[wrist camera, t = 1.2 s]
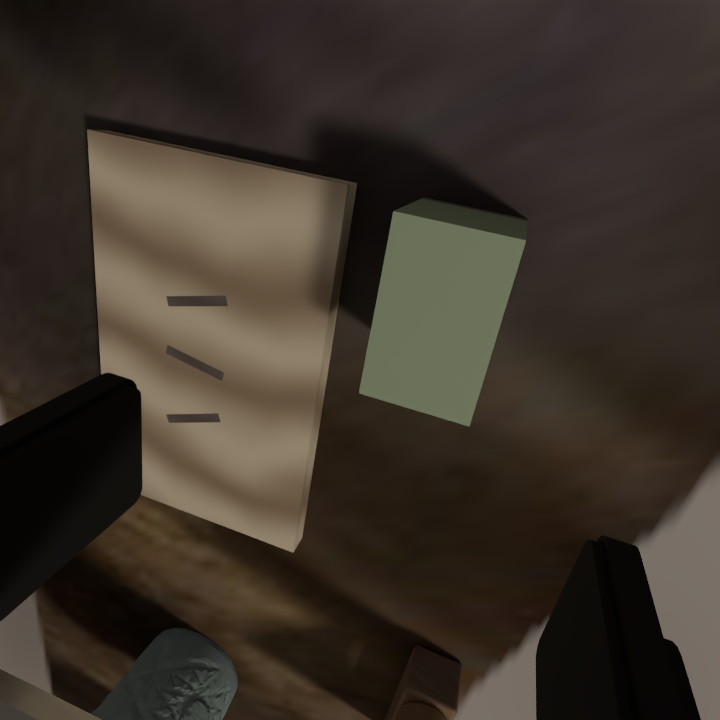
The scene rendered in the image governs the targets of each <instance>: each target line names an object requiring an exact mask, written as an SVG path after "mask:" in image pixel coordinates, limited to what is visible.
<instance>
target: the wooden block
mask: <svg viewBox="0 0 720 720" xmlns="http://www.w3.org/2000/svg"><path fill="white" fill-rule="evenodd" d="M462 671H463V669H462V665H461V664H460V663H458V662H456V661H453V660H451V659H449V658H447V657H444V656H442V655H440V654H438V653H435V652H433V651H431V650H429V649H426V648H424V647H422V646H420V645H416V646H415V647H414V648H413V651H412V653H411V656H410V658H409V660H408V663H407V665H406V668H405V670H404V672H403V675H402V677H401V680H400V682H399V684H398V687H397V689H396V692H395V694H394V696H393V699H392V701H391V704H390V706H389V708H388V711H387V713H386V715H385V718H384V720H453V719H454V717H455V715H456V713H457V709H458V702H459V694H460V686H461V679H462Z"/></svg>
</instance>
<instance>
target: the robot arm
mask: <svg viewBox="0 0 720 720" xmlns="http://www.w3.org/2000/svg"><path fill="white" fill-rule="evenodd" d="M141 492H142V409H141V392H140V391H139V390H138V389H137V385H136V384H135V382H134V381H133V380H131V379H128V378H125V377H122V376H118V375H115V374H112V373H104V374H102V375H100V376H98V377H96V378H94V379H92V380H90V381H88V382H86V383H84V384H82V385H80V386H78V387H76V388H74V389H72V390H70V391H68V392H66V393H64V394H62V395H60V396H58V397H56V398H54V399H52V400H50V401H49V402H47V403H45V404H43V405H41V406H39V407H37V408H35V409H33V410H31V411H29V412H27V413H25V414H23V415H21V416H19V417H17V418H15V419H13V420H11V421H9V422H7V423H5V424H3V425H1V426H0V621H1V620H3V619H4V618H5V617H6V616H7V615H9V613H11V612H12V611H13V610H14V609H15V608H16V607H17V606H19V605H20V604H21V603H22V602H23V601H24V600H26V599H27V598H28V597H29V596H30V595H31V594H32V593H34V592H35V591H36V590H37V589H38V588H39V587H40V586H42V585H43V584H44V583H45V582H46V581H47V580H48V579H49V578H51V577H52V576H53V575H54V574H55V573H56V572H57V571H59V570H60V569H61V568H62V567H63V566H64V565H65V564H67V563H68V562H69V561H70V560H71V559H72V558H73V557H75V556H76V555H77V554H78V553H79V552H80V551H81V550H82V549H84V548H85V547H86V546H87V545H88V544H89V543H90V542H92V541H93V540H94V539H95V538H96V537H97V536H98V535H100V534H101V533H102V532H103V531H104V530H105V529H106V528H108V527H109V526H110V525H111V524H112V523H113V522H114V521H116V520H117V519H118V518H119V517H120V516H121V515H122V514H123V513H125V512H126V511H127V510H128V509H129V508H130V507H131V506H133V505H134V504H135V503H136V501H137V500H138V499H139V497H140V495H141ZM536 710H537V711H536V716H537V720H701V719H700V716H699V712H698V709H697V706H696V702H695V699H694V696H693V693H692V689H691V686H690V683H689V679H688V676H687V673H686V670H685V666H684V663H683V660H682V656H681V654H680V652H679V650H678V647H677V646H676V645H675V644H674V643H673V642H672V641H670V640H667V639H665V638H663V635H662V631H661V627H660V624H659V620H658V617H657V613H656V609H655V606H654V602H653V598H652V595H651V591H650V587H649V584H648V581H647V577H646V573H645V569H644V566H643V562H642V558H641V555H640V552H639V549H638V548H637V547H636V546H634V545H631V544H628V543H625V542H622V541H619V540H616V539H613V538H610V537H607V536H604V535H603V536H601V537H599V538H598V540H597V542H596V541H593V540H590V539H589V540H587V541H586V542H585V544H584V546H583V548H582V550H581V552H580V554H579V557H578V559H577V561H576V563H575V565H574V567H573V569H572V571H571V574H570V576H569V578H568V580H567V582H566V584H565V586H564V588H563V591H562V593H561V595H560V597H559V599H558V601H557V603H556V605H555V608H554V610H553V612H552V614H551V616H550V618H549V620H548V622H547V625H546V627H545V629H544V631H543V633H542V635H541V637H540V640H539V643H538V647H537V653H536ZM0 720H102V719H100V718H98V717H96V716H94V715H92V714H90V713H88V712H86V711H84V710H82V709H80V708H78V707H76V706H74V705H72V704H70V703H68V702H66V701H64V700H62V699H60V698H58V697H56V696H54V695H52V694H50V693H47V692H45V691H43V690H41V689H39V688H37V687H35V686H33V685H31V684H29V683H27V682H25V681H23V680H21V679H19V678H17V677H15V676H13V675H11V674H9V673H7V672H5V671H3V670H1V669H0Z"/></svg>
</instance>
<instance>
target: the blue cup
mask: <svg viewBox="0 0 720 720" xmlns="http://www.w3.org/2000/svg"><path fill="white" fill-rule="evenodd" d="M237 681H238V680H237V673H236V671H235V668H234V665H233V663H232V661H231V660H230V658H229V657H228V656H227V654H226V653H225V652H224V651H223V650H222V649H221V648H220V647H219V646H218V645H216V644H215V643H214V642H213V641H211V640H210V639H208V638H207V637H205V636H203V635H201V634H199V633H197V632H194V631H191V630H188V629H184V628H172V629H168V630H165V631H163V632H162V633H160V634H159V635H158V636H157V637H156V638H155V639H154V640H153V641H152V642H151V644H150V645H149V646H148V647H147V648H146V649H145V650H144V652H143V653H142V654H141V655H140V656H139V657H138V659H137V660H136V661H135V662H134V664H133V666H132V668H131V669H130V671H129V672H128V674H127V675H126V676H125V677H124V678H123V679H122V680H121V681H119V682H118V683H117V684H116V686H115V687H114V689H113V690H112V692H111V693H110V694H108V695H107V697H106V698H105V699H104V701H103V702H102V704H101V705H100V706H99V707H98V708H96V709H95V710H94V711H93V712H92V713H91V714H92V715H94V716H96V717H98V718H100V719H102V720H222V719H223V717H224V715H225V713H226V711H227V709H228V707H229V705H230V703H231V701H232V698H233V696H234V694H235V692H236V689H237V684H238V682H237Z"/></svg>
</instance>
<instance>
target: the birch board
mask: <svg viewBox="0 0 720 720" xmlns="http://www.w3.org/2000/svg"><path fill="white" fill-rule="evenodd" d="M87 136H88V153H89V171H90V188H91V206H92V223H93V241H94V258H95V276H96V293H97V311H98V328H99V346H100V363H101V375H102V374H104V373H112V374H115V375H118V376H122V377H125V378H128V379H131V380H133V381H134V382H135V384H136V385H137V389H138V390H139V391H140V392H141V409H142V492H141V495H143V496H145V497H148V498H151V499H153V500H156V501H159V502H161V503H164V504H167V505H169V506H172V507H174V508H177V509H180V510H182V511H185V512H188V513H190V514H193V515H195V516H198V517H201V518H203V519H206V520H209V521H211V522H214V523H217V524H219V525H222V526H224V527H227V528H230V529H232V530H235V531H238V532H240V533H243V534H246V535H248V536H251V537H253V538H256V539H259V540H261V541H264V542H267V543H269V544H272V545H274V546H277V547H280V548H282V549H285V550H288V551H290V552H294V551H295V549H296V547H297V546H298V544H299V542H300V540H301V539H302V535H303V529H304V522H305V516H306V509H307V503H308V497H309V490H310V484H311V477H312V471H313V464H314V458H315V452H316V445H317V439H318V432H319V426H320V420H321V413H322V407H323V400H324V394H325V387H326V381H327V375H328V368H329V362H330V355H331V349H332V343H333V336H334V330H335V323H336V317H337V310H338V304H339V298H340V291H341V285H342V278H343V272H344V266H345V259H346V253H347V246H348V240H349V233H350V227H351V221H352V214H353V208H354V201H355V195H356V189H357V183H354V182H349V181H345V180H340V179H335V178H330V177H326V176H321V175H316V174H312V173H307V172H302V171H297V170H293V169H288V168H283V167H278V166H274V165H269V164H264V163H259V162H255V161H250V160H245V159H240V158H236V157H231V156H226V155H222V154H217V153H212V152H207V151H203V150H198V149H193V148H188V147H184V146H179V145H174V144H169V143H165V142H160V141H155V140H151V139H146V138H141V137H136V136H132V135H127V134H122V133H117V132H113V131H108V130H89V129H87Z"/></svg>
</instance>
